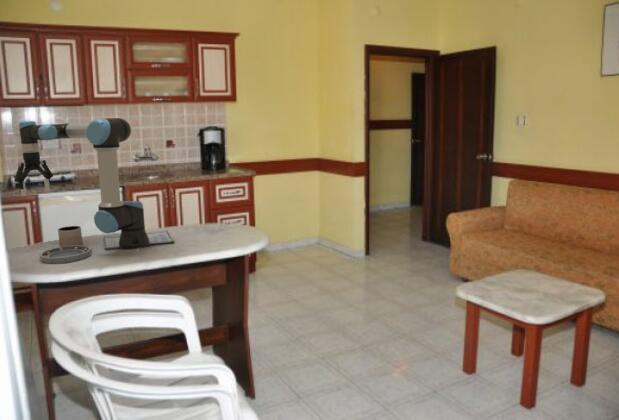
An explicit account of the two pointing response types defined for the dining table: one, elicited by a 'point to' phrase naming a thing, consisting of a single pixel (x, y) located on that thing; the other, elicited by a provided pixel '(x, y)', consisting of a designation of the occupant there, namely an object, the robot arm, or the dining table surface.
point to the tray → (65, 254)
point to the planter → (70, 236)
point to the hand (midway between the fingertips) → (36, 193)
